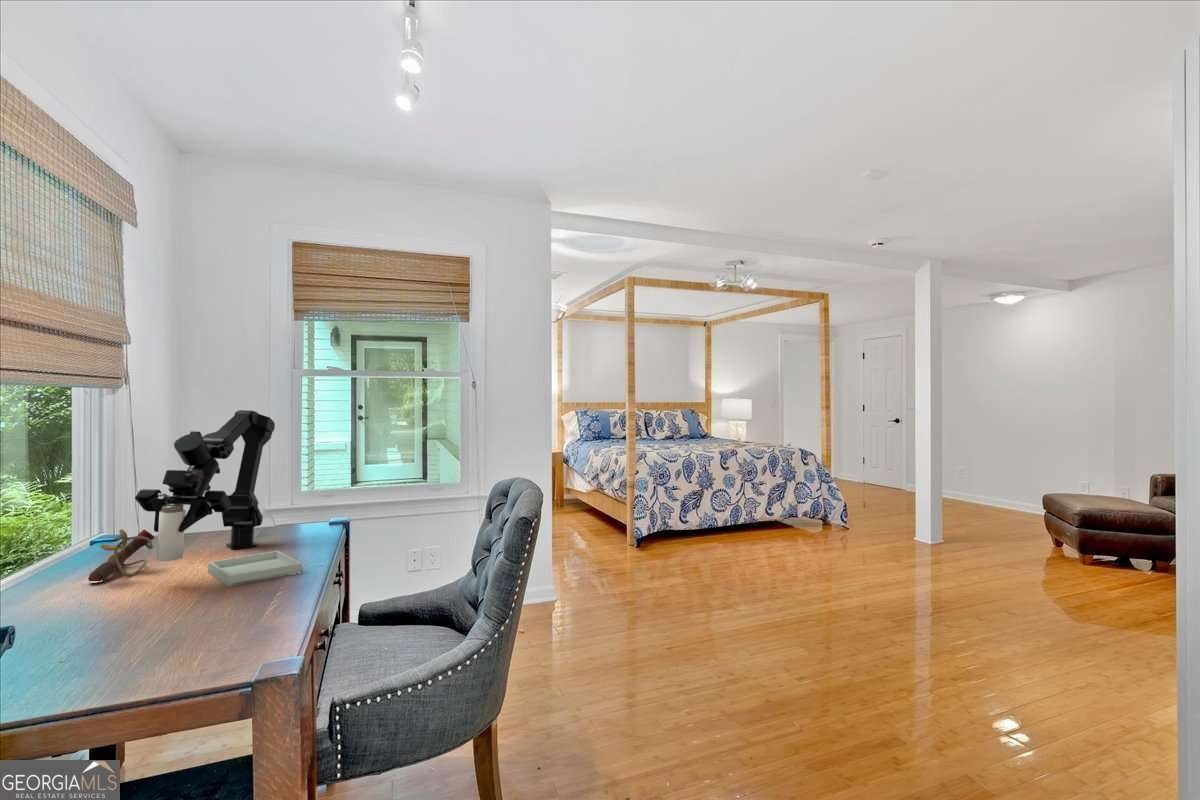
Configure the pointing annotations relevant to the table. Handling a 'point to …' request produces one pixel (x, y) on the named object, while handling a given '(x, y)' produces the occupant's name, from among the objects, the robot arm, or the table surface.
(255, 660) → the table surface
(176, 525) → the jar with lid
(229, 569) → the bin
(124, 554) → the slingshot
